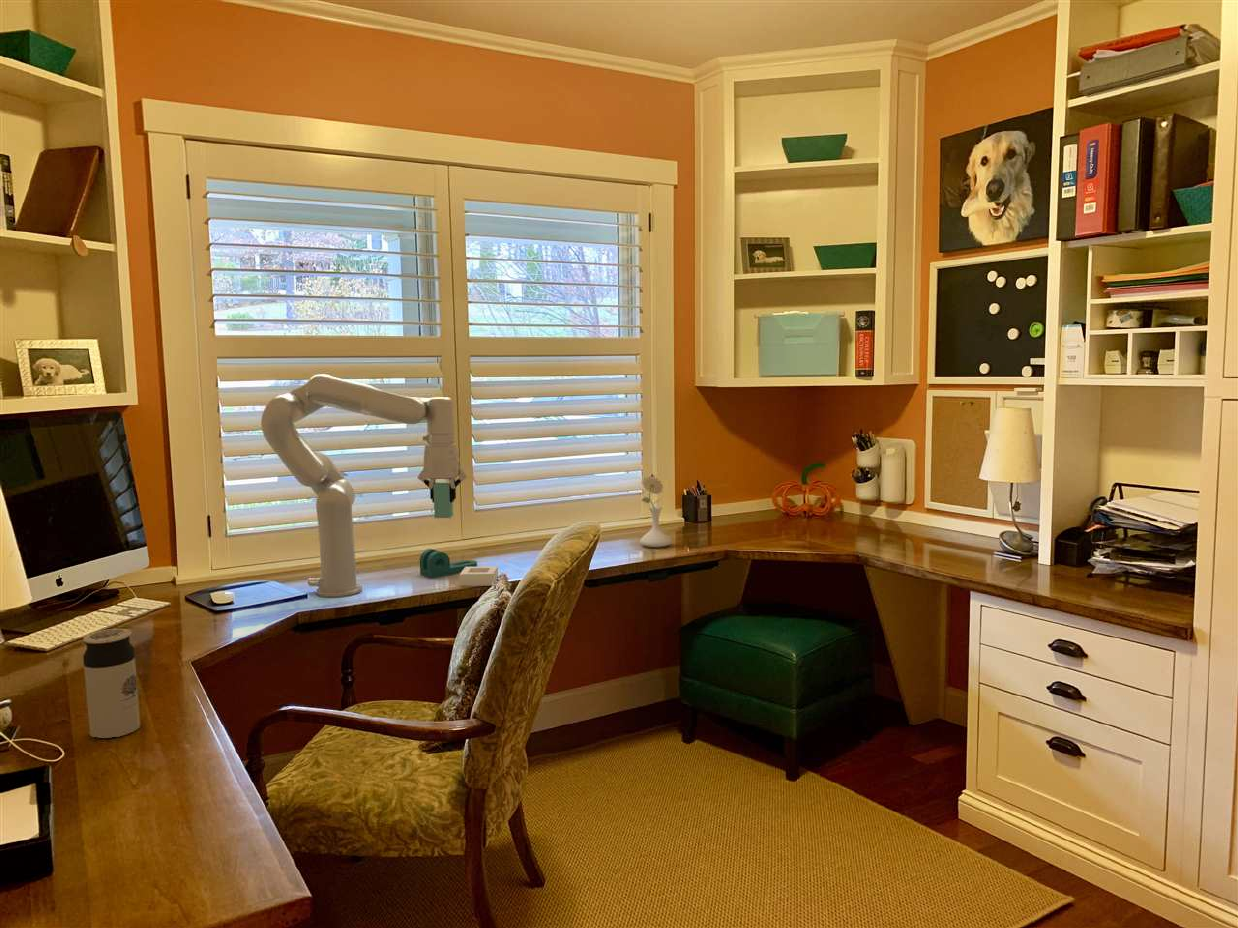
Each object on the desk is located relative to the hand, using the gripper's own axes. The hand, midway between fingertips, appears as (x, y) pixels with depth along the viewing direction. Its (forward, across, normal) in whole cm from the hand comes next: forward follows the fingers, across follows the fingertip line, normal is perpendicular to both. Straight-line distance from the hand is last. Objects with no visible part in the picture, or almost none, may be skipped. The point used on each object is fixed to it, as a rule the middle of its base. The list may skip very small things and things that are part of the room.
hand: (443, 501), depth 264 cm
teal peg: (+5, 0, 0) cm, 5 cm away
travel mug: (+26, -39, -105) cm, 115 cm away
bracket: (+26, -2, +18) cm, 31 cm away
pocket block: (+25, +9, +4) cm, 27 cm away
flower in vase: (+25, +63, +53) cm, 86 cm away
